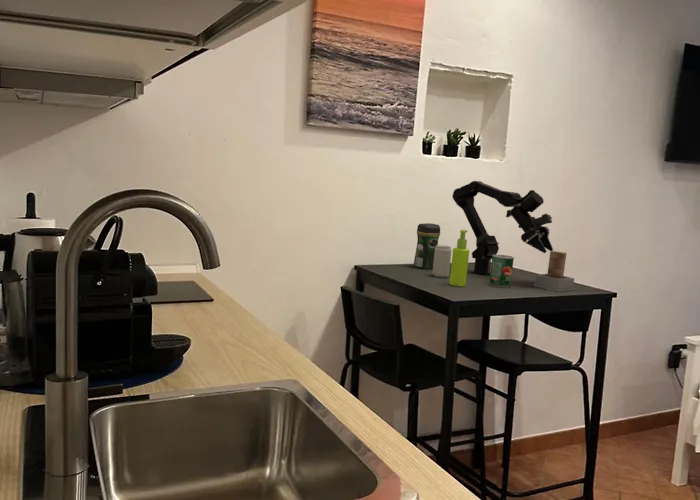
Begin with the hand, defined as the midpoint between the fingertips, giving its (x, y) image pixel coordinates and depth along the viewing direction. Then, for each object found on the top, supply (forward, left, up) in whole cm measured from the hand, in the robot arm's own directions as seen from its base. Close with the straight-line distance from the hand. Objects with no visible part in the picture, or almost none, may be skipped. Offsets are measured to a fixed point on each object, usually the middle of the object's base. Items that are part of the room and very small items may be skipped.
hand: (548, 251), depth 244 cm
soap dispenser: (-35, +14, -14) cm, 40 cm away
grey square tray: (+1, -3, -13) cm, 14 cm away
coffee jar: (-20, +45, -14) cm, 51 cm away
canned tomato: (-18, +8, -14) cm, 24 cm away
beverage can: (-29, +28, -14) cm, 42 cm away
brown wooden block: (+1, -3, -13) cm, 13 cm away
